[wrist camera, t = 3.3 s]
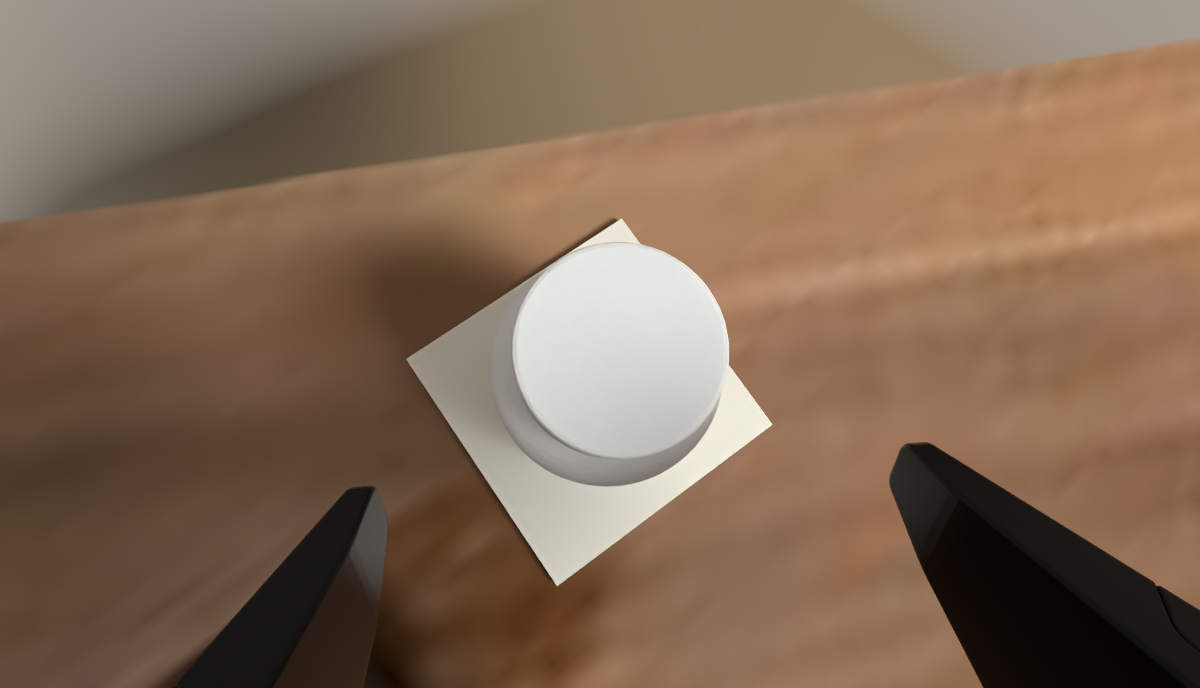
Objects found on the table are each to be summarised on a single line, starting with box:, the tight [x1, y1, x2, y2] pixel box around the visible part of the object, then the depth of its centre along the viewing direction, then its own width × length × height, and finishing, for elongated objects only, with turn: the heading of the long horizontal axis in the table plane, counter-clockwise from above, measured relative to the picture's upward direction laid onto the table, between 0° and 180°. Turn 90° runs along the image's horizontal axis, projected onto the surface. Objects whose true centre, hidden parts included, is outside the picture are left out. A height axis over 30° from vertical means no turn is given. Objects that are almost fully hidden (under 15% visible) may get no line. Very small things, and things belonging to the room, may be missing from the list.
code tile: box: [406, 219, 772, 586], centre depth 20 cm, size 9×9×1 cm
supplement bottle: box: [489, 242, 729, 487], centre depth 15 cm, size 5×5×10 cm
